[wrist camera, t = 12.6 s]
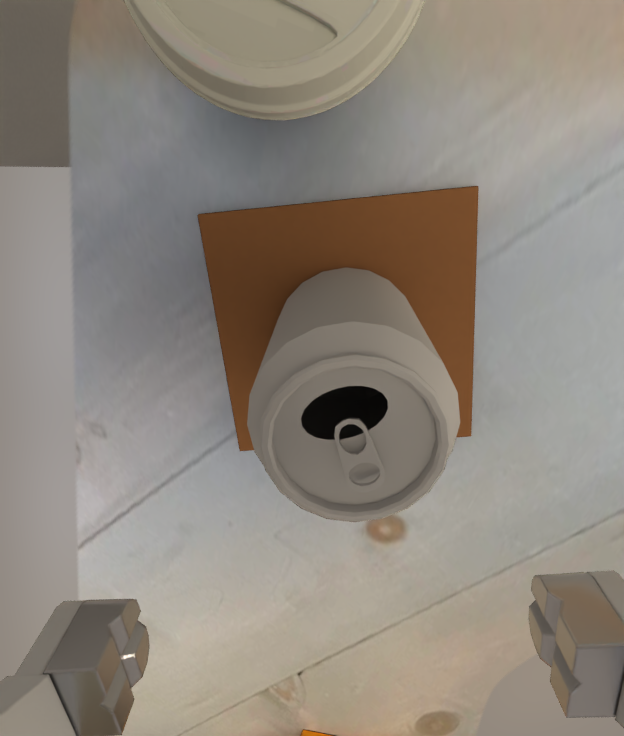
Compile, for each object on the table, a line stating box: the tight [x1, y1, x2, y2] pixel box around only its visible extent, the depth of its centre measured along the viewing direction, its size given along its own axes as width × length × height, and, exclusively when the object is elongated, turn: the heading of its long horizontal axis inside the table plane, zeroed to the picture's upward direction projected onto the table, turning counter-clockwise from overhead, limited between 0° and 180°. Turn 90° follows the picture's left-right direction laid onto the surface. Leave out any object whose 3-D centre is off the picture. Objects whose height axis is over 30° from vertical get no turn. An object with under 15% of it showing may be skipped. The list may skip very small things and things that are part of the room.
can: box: [247, 267, 460, 522], centre depth 21 cm, size 8×8×12 cm
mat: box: [198, 186, 478, 451], centre depth 27 cm, size 14×14×1 cm
